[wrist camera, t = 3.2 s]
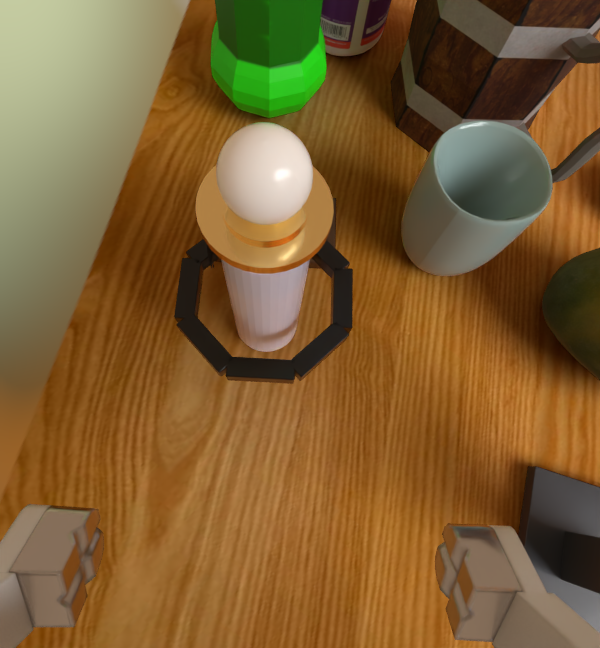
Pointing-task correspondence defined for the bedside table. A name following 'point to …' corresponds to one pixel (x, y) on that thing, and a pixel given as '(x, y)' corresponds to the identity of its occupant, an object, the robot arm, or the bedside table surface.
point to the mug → (492, 65)
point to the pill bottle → (352, 25)
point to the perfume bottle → (264, 228)
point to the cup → (474, 197)
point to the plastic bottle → (268, 54)
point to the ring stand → (262, 367)
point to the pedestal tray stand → (564, 538)
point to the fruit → (576, 308)
